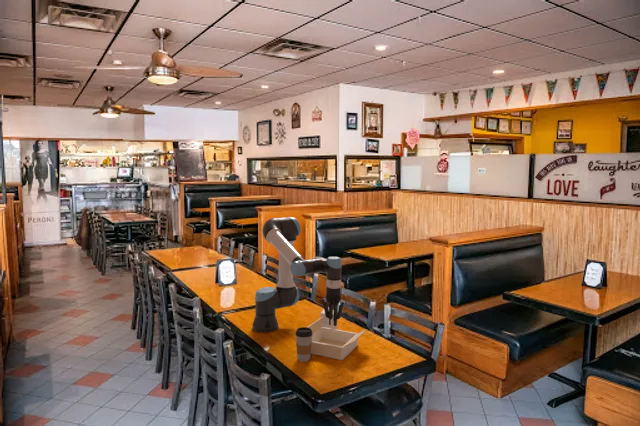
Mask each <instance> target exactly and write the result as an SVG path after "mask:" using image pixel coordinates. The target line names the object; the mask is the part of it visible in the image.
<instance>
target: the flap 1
mask: <svg viewBox="0 0 640 426" xmlns="http://www.w3.org/2000/svg"><path fill="white" fill-rule="evenodd" d="M322 323H323V317H321V316H320V318H318V319H317V320H315V321H314V322H313V323H311V324H310V325H308V326H307V327H308V328H310V329H311V330H312V334H313V333H315V332H316V331H318V330H319V329H320V328H322Z"/></svg>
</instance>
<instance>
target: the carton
mask: <svg viewBox="0 0 640 426" xmlns="http://www.w3.org/2000/svg"><path fill="white" fill-rule="evenodd" d="M330 329H331V328H326V327H322V328H320V329H319V330H317V331H316V332H315V333H313V334H312V345H311V355H315V356H318V357H319V356H321V357H324V358H329V359H333V360H334V359H335V360H339V361H344V360H345V359H346V358H347V357H348V356H349V355H350V354H351V353H352V352H353V351H354V350H355V349H356V348H357V347H358V346H359V338H358V339H357V340H356V341H355V342H354V343H352V344H350V345H348V346H346V347H344V346H345V345H346V344H347V343H348V342H349V341H350V340H351V339H352V338H354V337H355V336H356V335H357V334H358V332H353V331H349V330H348V331H347V330H341V329H338V328H337V329H335V331H334V332H330Z"/></svg>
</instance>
